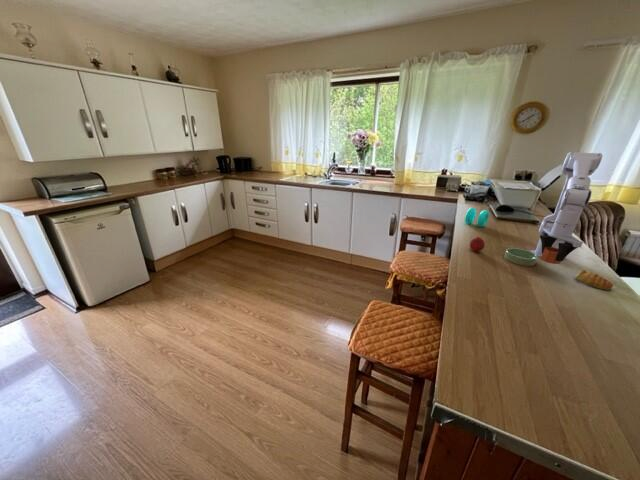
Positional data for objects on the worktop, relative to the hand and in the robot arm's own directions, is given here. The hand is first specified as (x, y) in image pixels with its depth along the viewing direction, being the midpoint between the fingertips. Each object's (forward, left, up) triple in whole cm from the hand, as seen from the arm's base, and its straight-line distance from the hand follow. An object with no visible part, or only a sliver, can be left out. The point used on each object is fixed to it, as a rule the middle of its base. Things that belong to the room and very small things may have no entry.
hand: (551, 256), depth 96 cm
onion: (+15, -21, -8) cm, 27 cm away
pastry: (-12, +6, -8) cm, 16 cm away
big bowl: (+1, -12, -8) cm, 14 cm away
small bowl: (0, 0, -2) cm, 2 cm away
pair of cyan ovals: (-8, -57, -8) cm, 58 cm away
